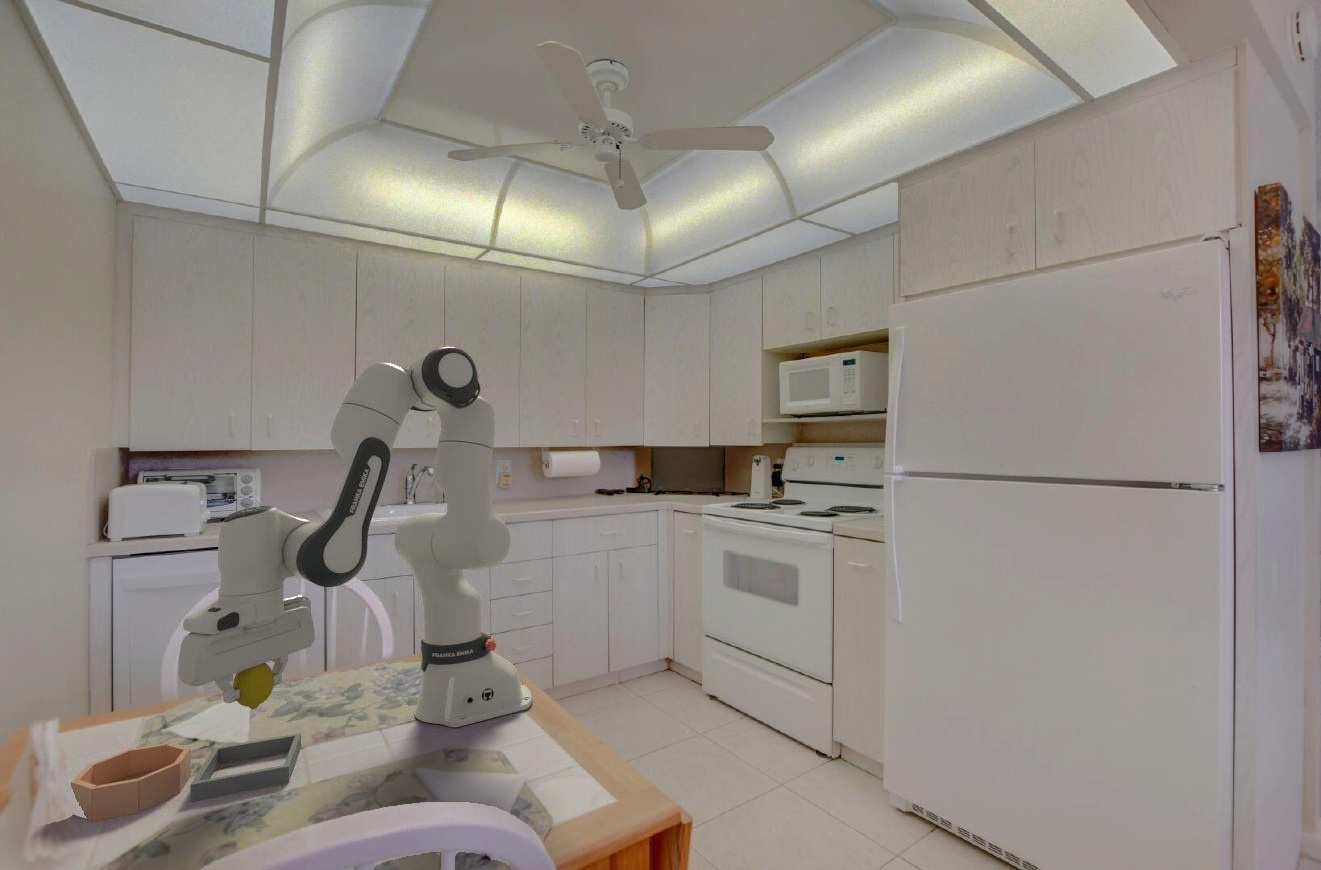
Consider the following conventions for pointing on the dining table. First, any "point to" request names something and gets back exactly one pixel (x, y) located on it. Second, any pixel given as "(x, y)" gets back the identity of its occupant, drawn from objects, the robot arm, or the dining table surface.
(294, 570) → the robot arm
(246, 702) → the lemon
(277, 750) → the tray
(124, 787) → the bowl
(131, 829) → the dining table surface
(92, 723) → the dining table surface
